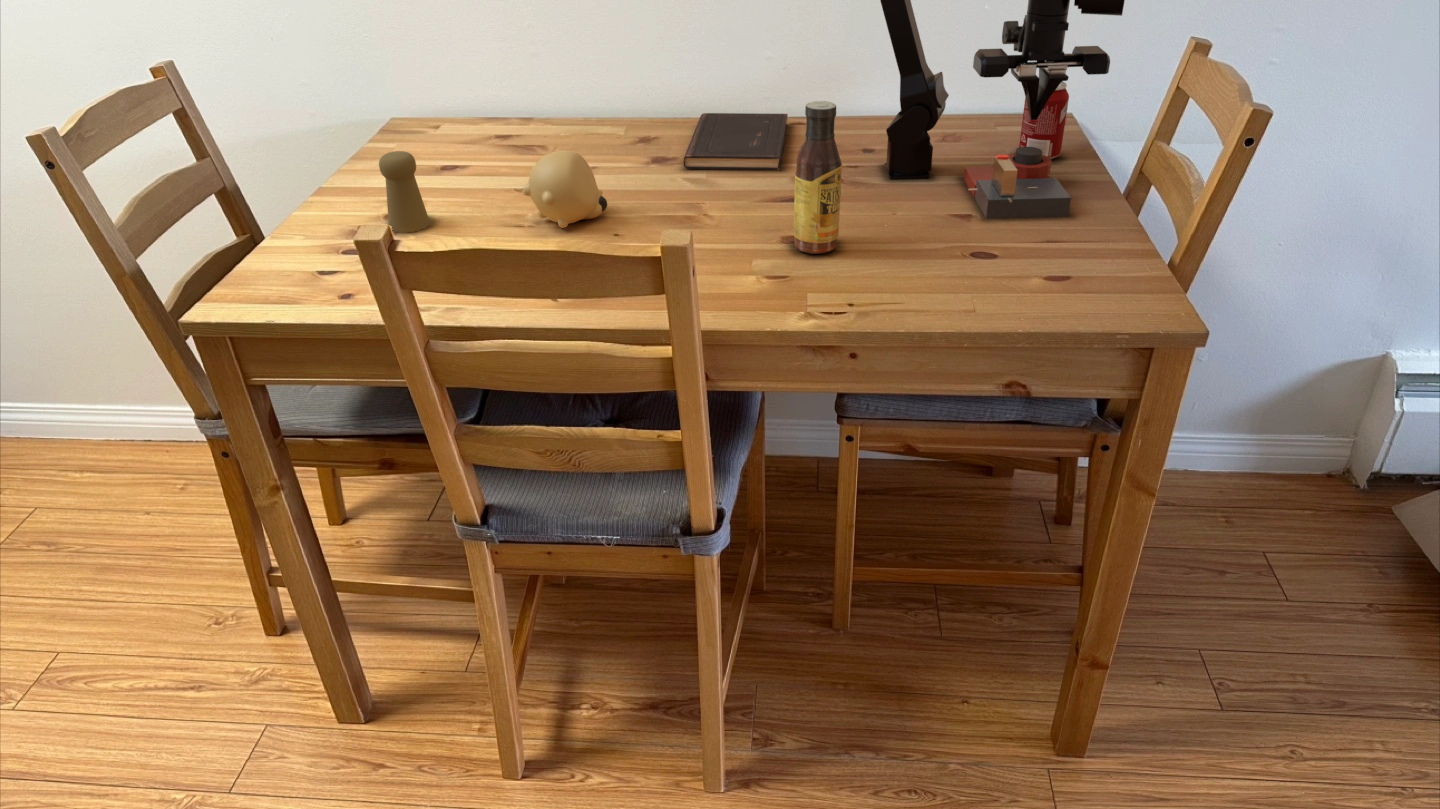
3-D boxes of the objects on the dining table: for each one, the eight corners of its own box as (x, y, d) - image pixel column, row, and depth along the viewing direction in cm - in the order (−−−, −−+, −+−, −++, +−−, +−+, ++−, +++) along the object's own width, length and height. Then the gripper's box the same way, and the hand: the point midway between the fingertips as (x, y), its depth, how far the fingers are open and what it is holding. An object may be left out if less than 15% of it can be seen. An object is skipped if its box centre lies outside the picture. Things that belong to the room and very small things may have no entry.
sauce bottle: (825, 259, 144) (829, 115, 134) (785, 250, 147) (786, 108, 137) (846, 242, 149) (852, 102, 138) (807, 234, 152) (810, 95, 141)
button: (1017, 166, 162) (1019, 155, 161) (1011, 157, 166) (1012, 146, 165) (1043, 165, 162) (1045, 154, 161) (1037, 157, 166) (1038, 146, 165)
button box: (973, 197, 162) (976, 172, 160) (962, 178, 169) (965, 153, 167) (1055, 195, 162) (1059, 170, 160) (1040, 175, 169) (1044, 151, 167)
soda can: (1050, 165, 172) (1061, 92, 166) (1011, 158, 176) (1020, 85, 169) (1066, 154, 177) (1077, 81, 170) (1028, 146, 180) (1037, 75, 174)
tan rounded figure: (591, 250, 158) (630, 191, 158) (540, 209, 148) (582, 147, 149) (553, 230, 164) (591, 173, 164) (502, 189, 154) (542, 129, 155)
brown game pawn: (393, 236, 155) (378, 163, 149) (384, 222, 160) (369, 151, 154) (434, 227, 158) (421, 155, 152) (424, 214, 162) (411, 144, 156)
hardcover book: (787, 126, 193) (787, 113, 192) (779, 170, 174) (780, 156, 173) (700, 125, 195) (700, 113, 194) (683, 169, 176) (683, 155, 174)
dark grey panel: (973, 222, 154) (975, 202, 152) (959, 196, 162) (961, 176, 161) (1070, 219, 154) (1073, 199, 152) (1051, 194, 162) (1054, 174, 160)
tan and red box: (1014, 196, 154) (1017, 168, 152) (1000, 196, 154) (1003, 168, 152) (1004, 181, 159) (1008, 154, 157) (991, 181, 159) (994, 154, 157)
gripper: (1095, -2, 159) (1079, 101, 167) (970, 1, 159) (960, 105, 167) (1119, 14, 149) (1101, 123, 158) (987, 18, 149) (975, 127, 158)
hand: (1033, 119), depth 160 cm, fingers closed
